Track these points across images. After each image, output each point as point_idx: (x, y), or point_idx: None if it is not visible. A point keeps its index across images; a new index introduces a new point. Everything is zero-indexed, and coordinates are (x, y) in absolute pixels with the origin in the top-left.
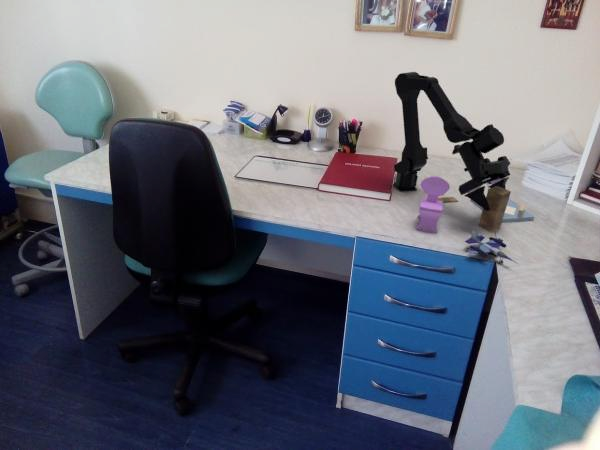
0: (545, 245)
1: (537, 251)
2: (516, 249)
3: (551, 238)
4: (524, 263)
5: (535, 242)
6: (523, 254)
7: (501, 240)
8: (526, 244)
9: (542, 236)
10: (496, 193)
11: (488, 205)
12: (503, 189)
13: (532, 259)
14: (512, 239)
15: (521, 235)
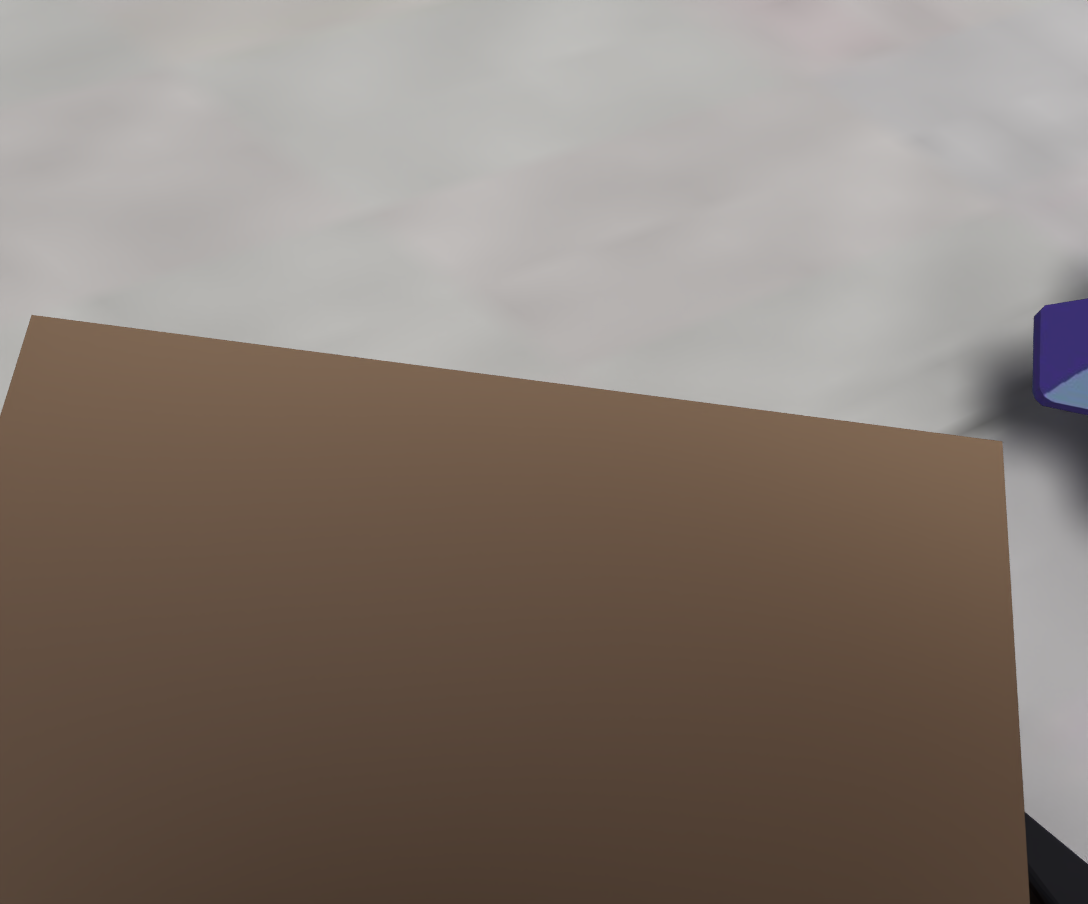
0: (323, 8)
1: (585, 30)
2: (782, 222)
3: (26, 8)
4: (1012, 47)
5: (348, 117)
6: (823, 120)
7: (1076, 324)
8: (519, 180)
9: (60, 106)
10: (981, 850)
11: (1074, 896)
12: (75, 791)
13: (837, 15)
14: (545, 368)
15: (289, 323)
